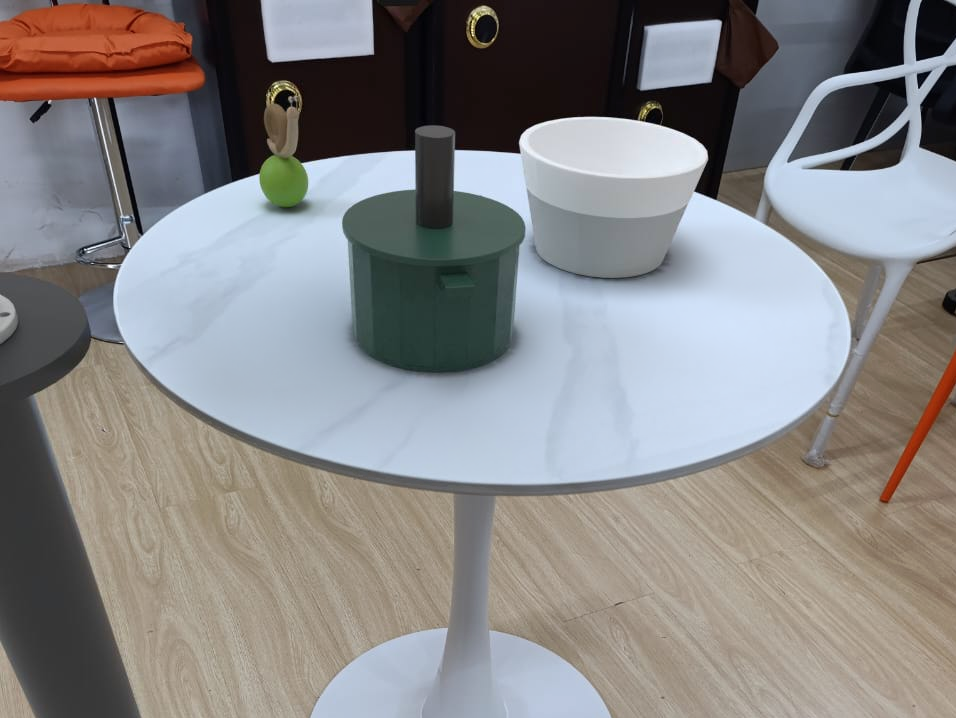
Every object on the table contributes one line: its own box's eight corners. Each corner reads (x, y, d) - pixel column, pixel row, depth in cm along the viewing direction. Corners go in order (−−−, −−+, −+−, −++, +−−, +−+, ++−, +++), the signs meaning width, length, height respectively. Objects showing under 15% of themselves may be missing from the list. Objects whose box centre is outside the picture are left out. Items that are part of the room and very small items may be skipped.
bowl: (724, 268, 99) (749, 160, 91) (581, 303, 91) (595, 189, 84) (614, 208, 110) (628, 108, 103) (478, 235, 102) (483, 129, 95)
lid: (357, 279, 72) (352, 168, 66) (331, 206, 83) (324, 104, 77) (547, 268, 75) (557, 160, 70) (498, 199, 86) (503, 101, 80)
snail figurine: (284, 220, 103) (272, 100, 94) (253, 203, 106) (238, 85, 98) (324, 210, 105) (316, 92, 97) (292, 193, 109) (282, 78, 100)
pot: (372, 395, 77) (368, 283, 70) (340, 291, 91) (333, 190, 84) (539, 380, 80) (549, 272, 73) (483, 282, 94) (487, 184, 87)
